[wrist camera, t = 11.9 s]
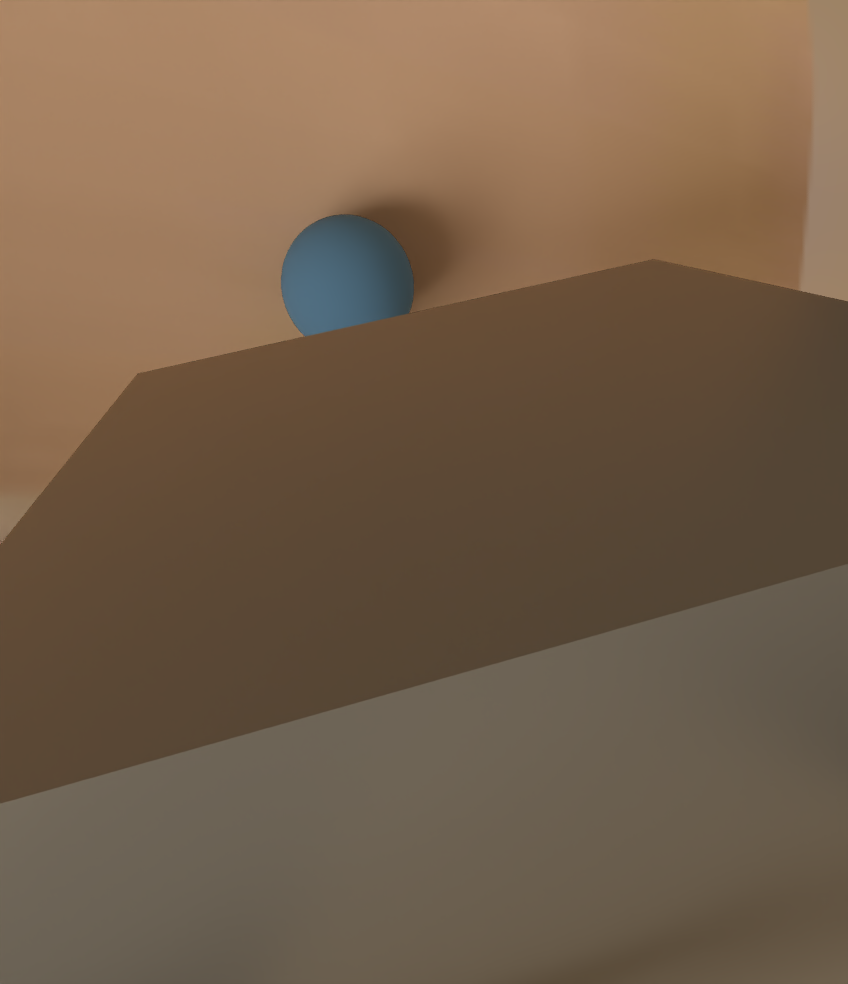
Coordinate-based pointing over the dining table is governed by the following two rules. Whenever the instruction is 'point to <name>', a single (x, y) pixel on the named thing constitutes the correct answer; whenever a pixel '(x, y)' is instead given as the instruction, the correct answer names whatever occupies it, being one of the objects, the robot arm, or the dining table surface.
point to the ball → (345, 275)
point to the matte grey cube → (445, 654)
